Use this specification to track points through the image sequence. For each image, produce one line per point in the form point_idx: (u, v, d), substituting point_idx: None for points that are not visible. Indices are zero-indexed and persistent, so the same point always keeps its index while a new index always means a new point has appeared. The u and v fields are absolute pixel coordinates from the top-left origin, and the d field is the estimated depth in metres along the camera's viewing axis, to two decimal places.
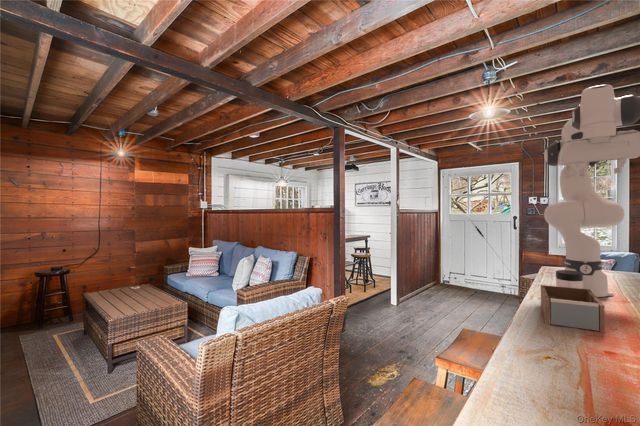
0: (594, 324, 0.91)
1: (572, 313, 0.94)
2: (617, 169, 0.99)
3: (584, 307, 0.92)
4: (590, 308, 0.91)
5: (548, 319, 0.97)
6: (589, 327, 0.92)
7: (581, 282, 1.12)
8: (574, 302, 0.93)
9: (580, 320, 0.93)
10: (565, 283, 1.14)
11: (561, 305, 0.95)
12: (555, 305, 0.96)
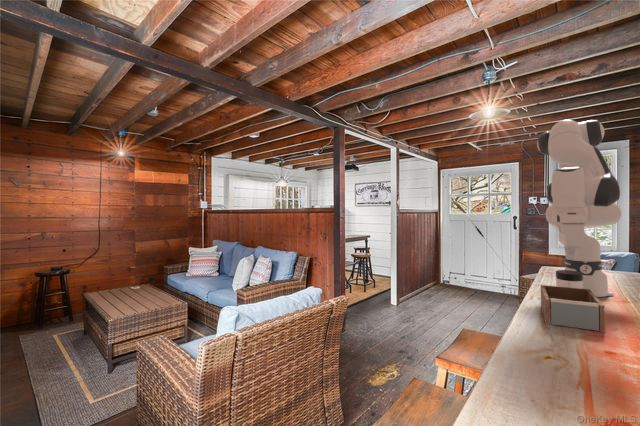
0: (594, 324, 0.91)
1: (572, 313, 0.94)
2: None
3: (584, 307, 0.92)
4: (590, 308, 0.91)
5: (548, 319, 0.97)
6: (589, 327, 0.92)
7: (581, 282, 1.12)
8: (574, 302, 0.93)
9: (580, 320, 0.93)
10: (565, 283, 1.14)
11: (561, 305, 0.95)
12: (555, 305, 0.96)
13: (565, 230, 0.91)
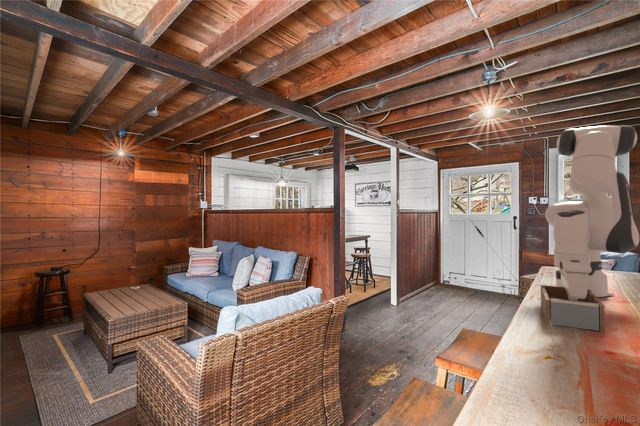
0: (594, 324, 0.91)
1: (572, 313, 0.94)
2: None
3: (584, 307, 0.92)
4: (590, 308, 0.91)
5: (548, 319, 0.97)
6: (589, 327, 0.92)
7: None
8: (574, 302, 0.93)
9: (580, 320, 0.93)
10: None
11: (561, 305, 0.95)
12: (555, 305, 0.96)
13: (568, 279, 0.89)
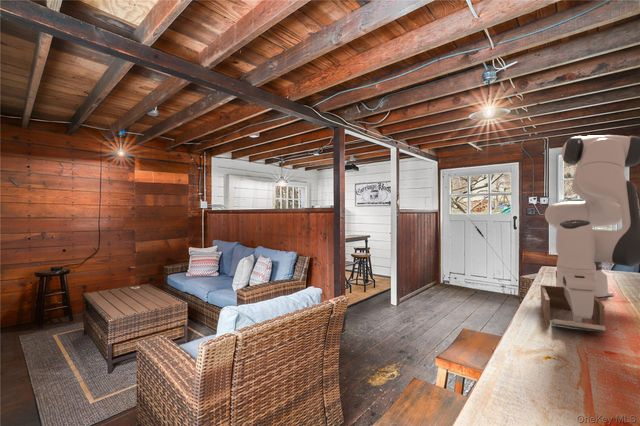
0: (596, 330, 0.89)
1: (574, 327, 0.90)
2: None
3: (589, 328, 0.87)
4: (595, 329, 0.86)
5: (548, 319, 0.97)
6: None
7: None
8: (579, 326, 0.87)
9: (582, 328, 0.91)
10: None
11: (564, 324, 0.90)
12: (558, 324, 0.91)
13: (572, 297, 0.82)
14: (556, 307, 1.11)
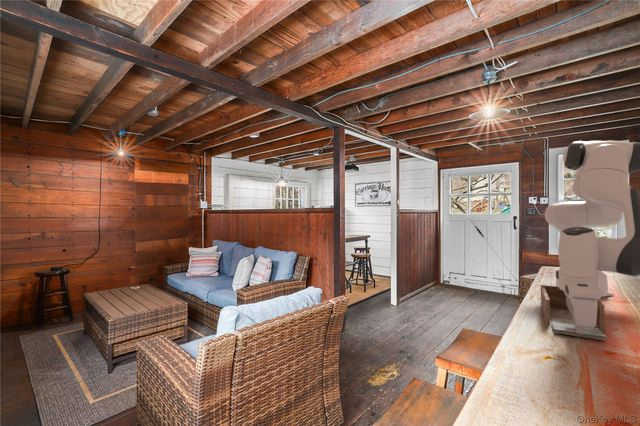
0: None
1: None
2: None
3: None
4: None
5: (548, 319, 0.97)
6: None
7: None
8: (579, 335, 0.87)
9: None
10: None
11: None
12: None
13: (575, 306, 0.80)
14: (556, 307, 1.11)
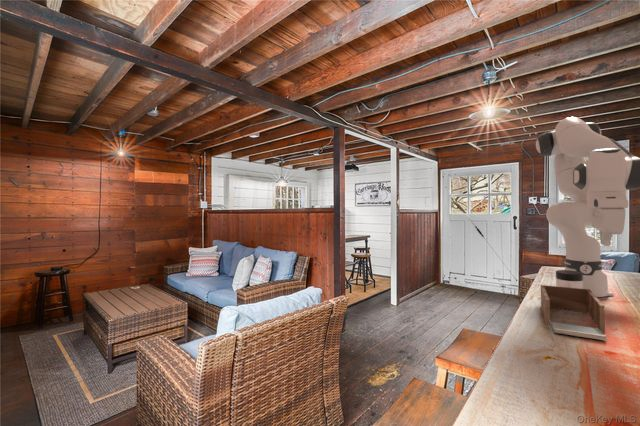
0: None
1: None
2: None
3: None
4: None
5: (548, 319, 0.97)
6: None
7: (581, 282, 1.12)
8: (579, 335, 0.87)
9: None
10: (565, 283, 1.14)
11: None
12: None
13: (604, 215, 0.87)
14: (556, 307, 1.11)
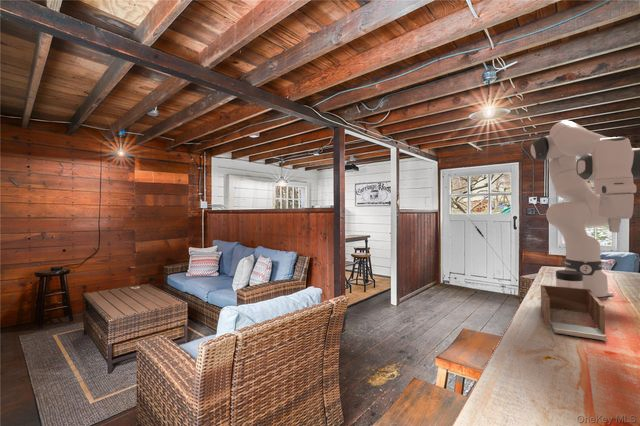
0: None
1: None
2: None
3: None
4: None
5: (548, 319, 0.97)
6: None
7: (581, 282, 1.12)
8: (579, 335, 0.87)
9: None
10: (565, 283, 1.14)
11: None
12: None
13: (613, 200, 0.88)
14: (556, 307, 1.11)
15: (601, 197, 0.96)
